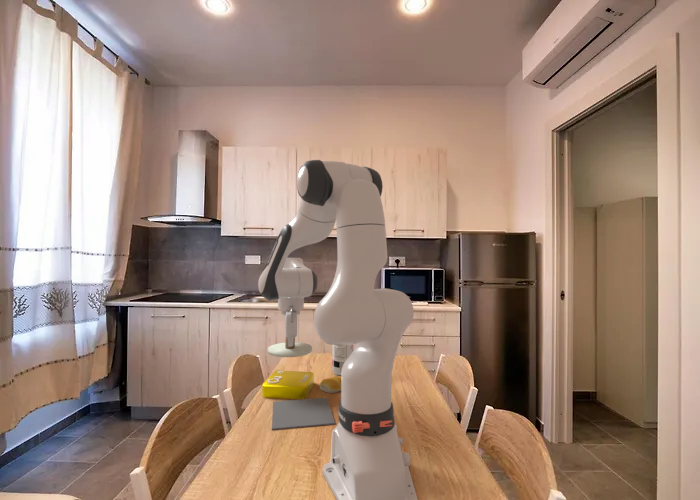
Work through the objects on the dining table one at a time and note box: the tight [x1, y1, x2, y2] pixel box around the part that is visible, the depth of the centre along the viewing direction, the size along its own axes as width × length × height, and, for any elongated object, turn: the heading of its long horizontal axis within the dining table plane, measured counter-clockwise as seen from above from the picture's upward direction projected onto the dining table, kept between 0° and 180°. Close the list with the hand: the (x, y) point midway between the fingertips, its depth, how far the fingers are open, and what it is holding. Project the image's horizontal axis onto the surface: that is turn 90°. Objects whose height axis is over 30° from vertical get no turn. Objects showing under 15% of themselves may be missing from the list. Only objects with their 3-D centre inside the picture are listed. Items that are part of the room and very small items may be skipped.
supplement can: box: [331, 344, 354, 377], centre depth 137 cm, size 8×8×15 cm
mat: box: [271, 397, 336, 431], centre depth 102 cm, size 17×17×1 cm
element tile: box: [261, 370, 315, 400], centre depth 119 cm, size 15×15×5 cm
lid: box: [267, 336, 313, 358], centre depth 119 cm, size 15×15×6 cm
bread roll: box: [319, 375, 341, 394], centre depth 121 cm, size 8×9×4 cm
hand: (290, 344), depth 119 cm, fingers closed on lid, 3 cm apart
